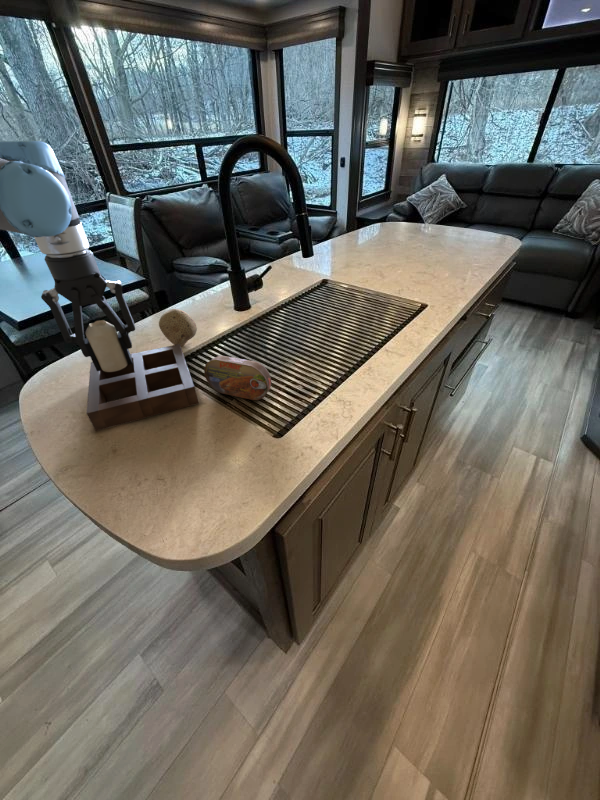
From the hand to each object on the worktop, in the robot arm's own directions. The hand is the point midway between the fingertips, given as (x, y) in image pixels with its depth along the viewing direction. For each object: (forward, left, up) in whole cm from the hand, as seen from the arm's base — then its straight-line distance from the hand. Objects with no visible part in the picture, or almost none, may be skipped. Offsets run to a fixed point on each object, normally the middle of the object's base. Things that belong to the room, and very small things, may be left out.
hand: (114, 364), depth 72 cm
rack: (+5, -4, -6) cm, 8 cm away
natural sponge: (+16, +14, -6) cm, 21 cm away
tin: (+24, -14, -6) cm, 28 cm away
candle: (0, 0, 0) cm, 0 cm away
